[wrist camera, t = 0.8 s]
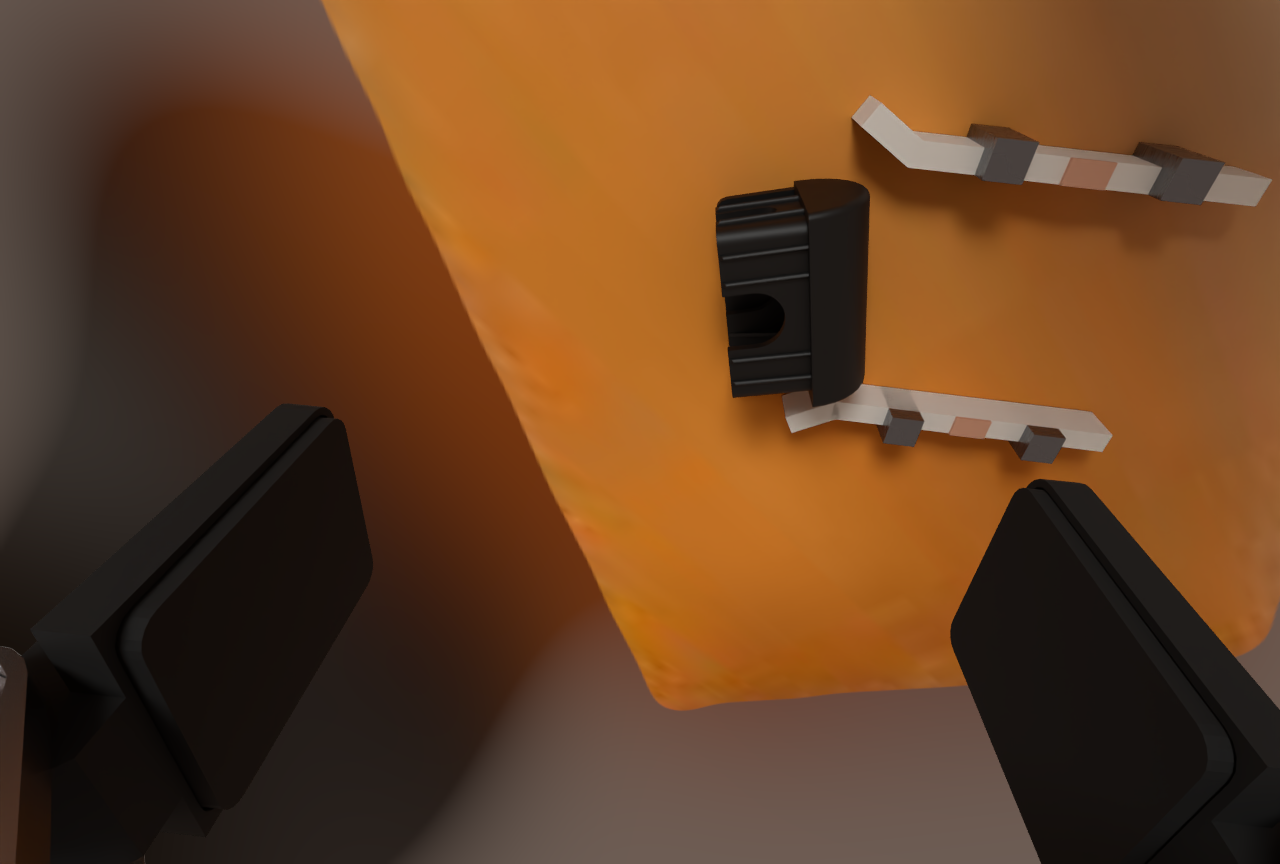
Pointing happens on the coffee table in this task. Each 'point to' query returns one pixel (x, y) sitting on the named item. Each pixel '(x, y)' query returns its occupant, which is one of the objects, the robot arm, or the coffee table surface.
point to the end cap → (796, 288)
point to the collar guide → (1014, 162)
